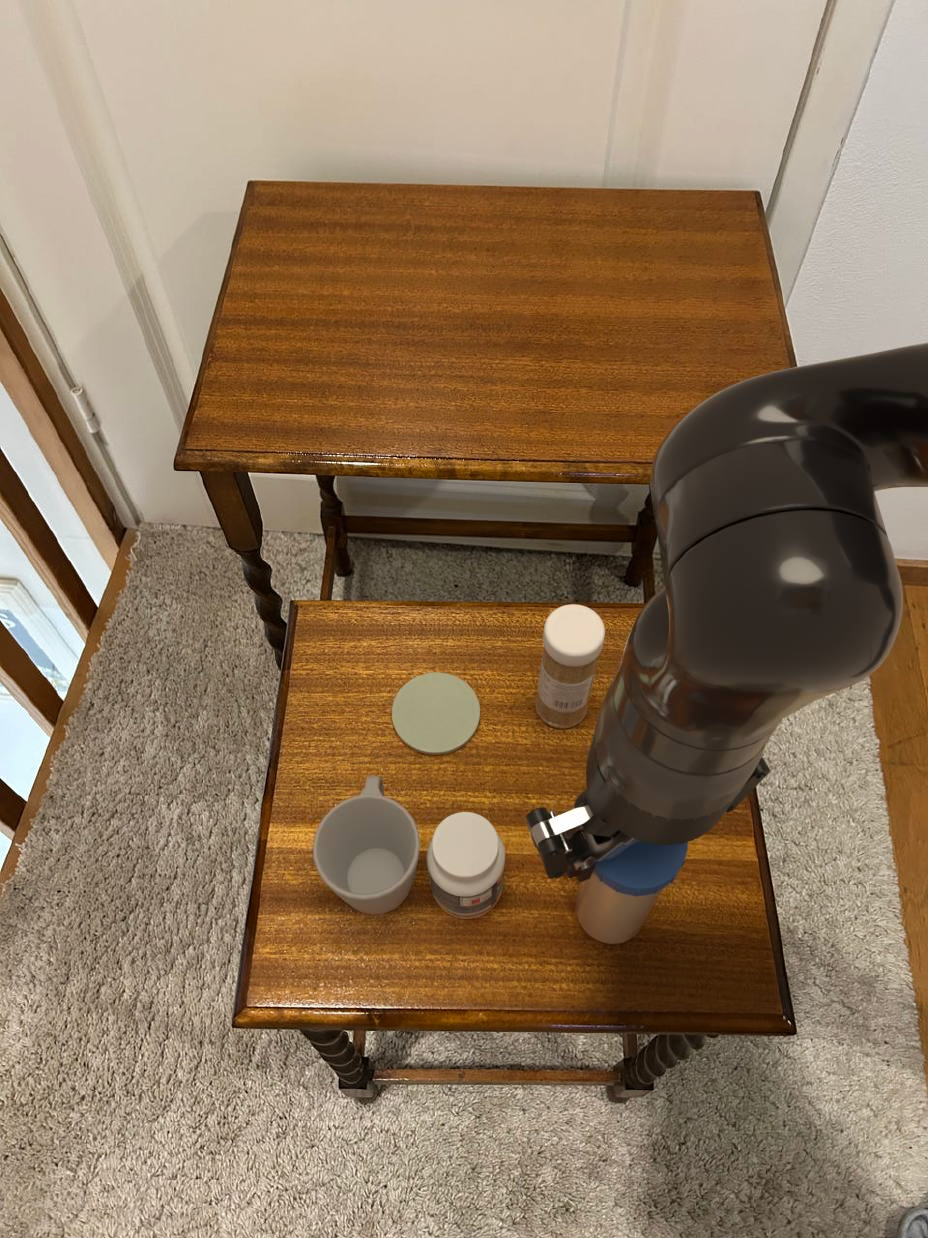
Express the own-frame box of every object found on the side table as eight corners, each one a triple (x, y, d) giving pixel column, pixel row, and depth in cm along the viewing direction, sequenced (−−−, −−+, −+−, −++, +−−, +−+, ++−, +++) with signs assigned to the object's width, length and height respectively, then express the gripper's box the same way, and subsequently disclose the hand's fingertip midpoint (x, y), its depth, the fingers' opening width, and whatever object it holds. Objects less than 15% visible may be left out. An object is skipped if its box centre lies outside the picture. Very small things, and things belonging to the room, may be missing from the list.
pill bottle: (514, 903, 72) (520, 866, 64) (445, 932, 71) (442, 898, 63) (486, 837, 75) (488, 792, 66) (419, 863, 74) (412, 821, 65)
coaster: (491, 689, 82) (491, 685, 81) (464, 766, 78) (464, 763, 78) (409, 665, 83) (409, 662, 83) (379, 740, 79) (378, 737, 79)
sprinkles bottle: (591, 690, 82) (611, 609, 70) (580, 736, 79) (599, 661, 68) (540, 678, 82) (551, 596, 71) (528, 723, 80) (538, 646, 69)
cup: (323, 927, 71) (307, 898, 64) (334, 802, 77) (320, 762, 69) (423, 928, 71) (418, 900, 64) (427, 803, 76) (423, 763, 69)
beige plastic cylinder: (635, 866, 73) (666, 792, 58) (654, 936, 71) (692, 878, 55) (568, 879, 73) (581, 808, 58) (584, 950, 70) (603, 896, 55)
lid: (689, 811, 58) (694, 801, 57) (676, 907, 56) (681, 899, 54) (594, 791, 59) (596, 780, 58) (576, 884, 56) (578, 875, 55)
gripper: (765, 633, 48) (696, 759, 62) (505, 723, 45) (496, 833, 60) (845, 760, 44) (753, 863, 59) (568, 866, 42) (542, 947, 56)
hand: (623, 848), depth 59 cm, fingers closed on lid, 6 cm apart
